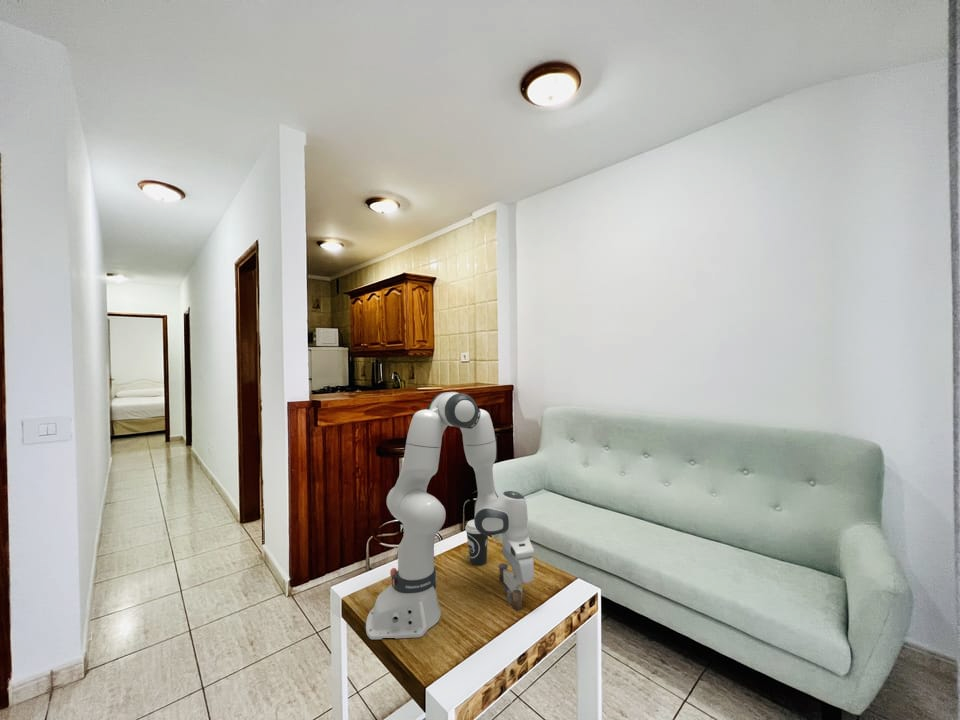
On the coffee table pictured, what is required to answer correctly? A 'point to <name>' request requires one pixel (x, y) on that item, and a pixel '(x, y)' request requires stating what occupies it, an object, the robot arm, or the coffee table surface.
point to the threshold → (507, 589)
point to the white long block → (511, 581)
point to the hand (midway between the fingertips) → (517, 581)
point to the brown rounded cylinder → (515, 599)
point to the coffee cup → (476, 545)
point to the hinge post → (501, 568)
